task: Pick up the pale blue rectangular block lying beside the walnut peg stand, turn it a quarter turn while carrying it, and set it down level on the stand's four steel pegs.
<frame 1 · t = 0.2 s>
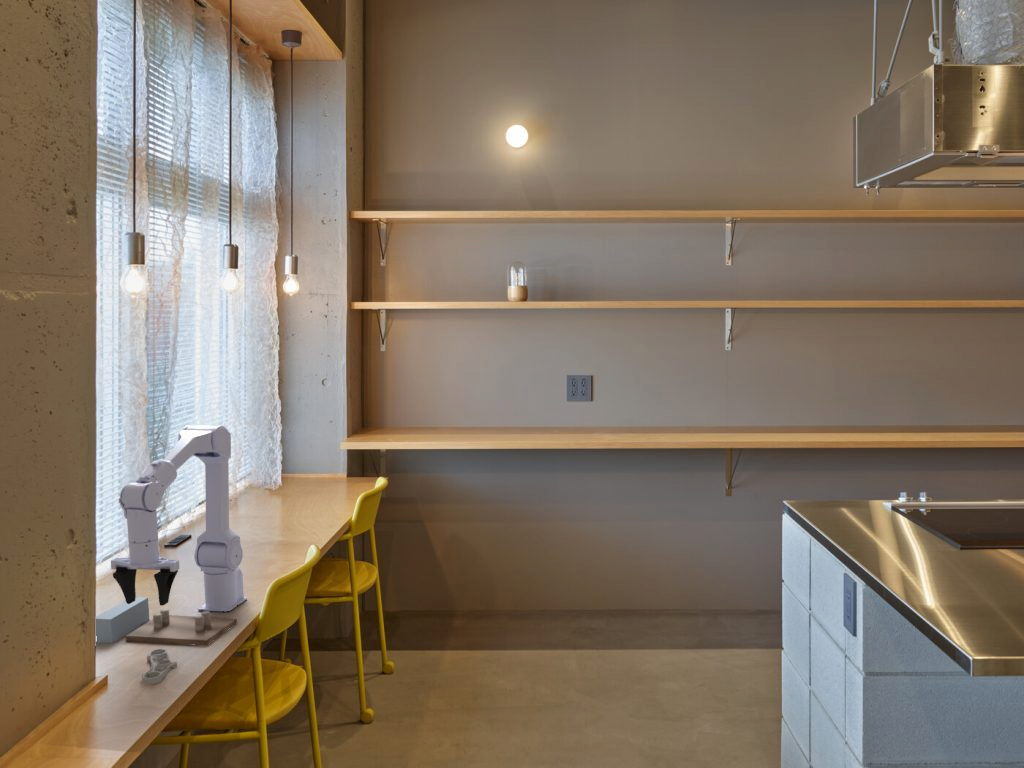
hand: (147, 603, 191), 10 cm above the table, tool pointing down, fingers open, 7 cm apart
bracket: (157, 672, 181), on the table
peg stand: (182, 632, 201), on the table
pale blue rectangular block: (122, 631, 203), on the table
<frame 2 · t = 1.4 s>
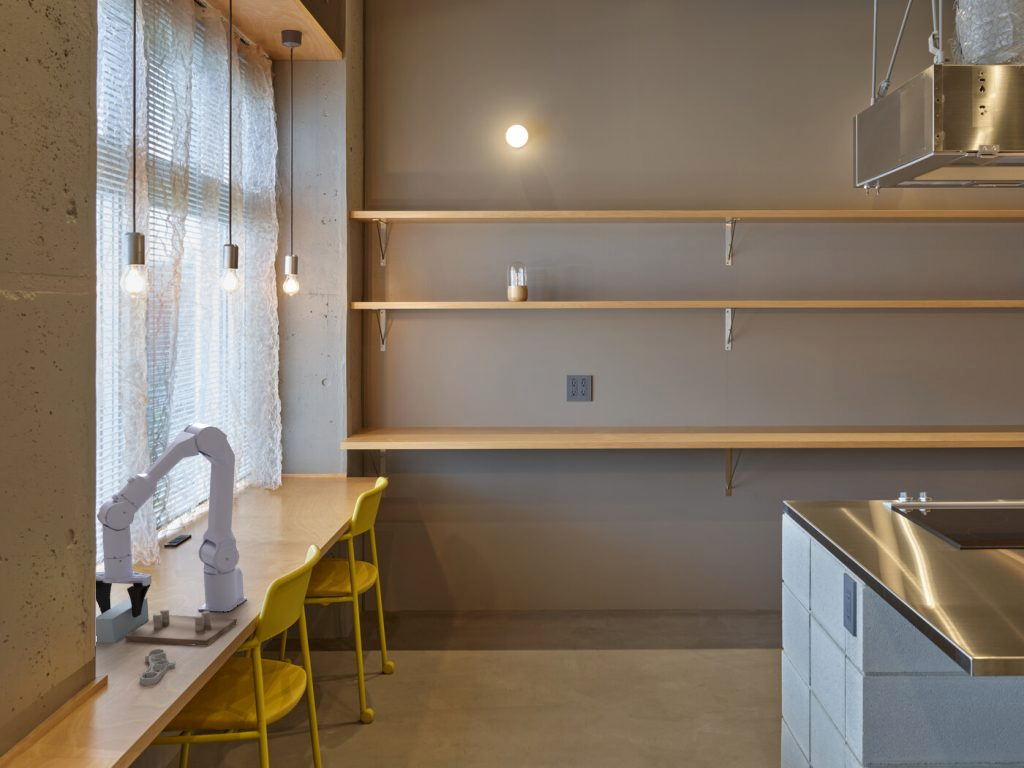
hand: (121, 615, 202), 4 cm above the table, tool pointing down, fingers open, 7 cm apart
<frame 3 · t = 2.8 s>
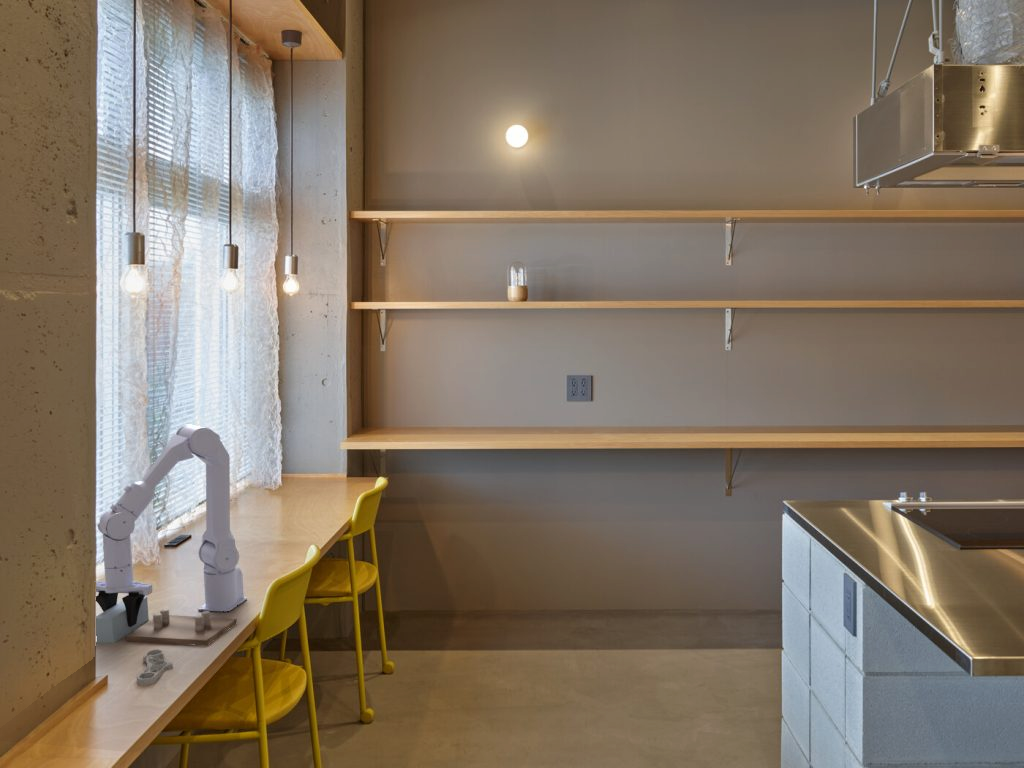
hand: (122, 624, 203), 1 cm above the table, tool pointing down, fingers closed on pale blue rectangular block, 4 cm apart
pale blue rectangular block: (122, 630, 203), on the table, touching gripper
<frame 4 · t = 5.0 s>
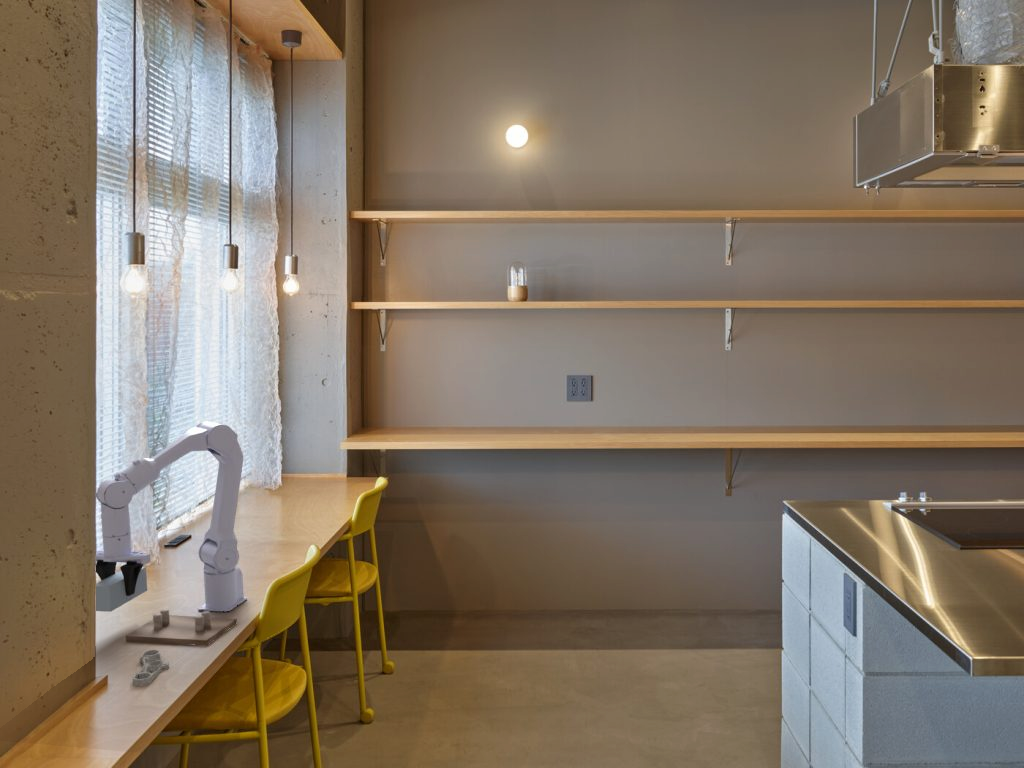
hand: (120, 594, 202), 8 cm above the table, tool pointing down, fingers closed on pale blue rectangular block, 4 cm apart
pale blue rectangular block: (121, 600, 202), point 7 cm above the table, touching gripper
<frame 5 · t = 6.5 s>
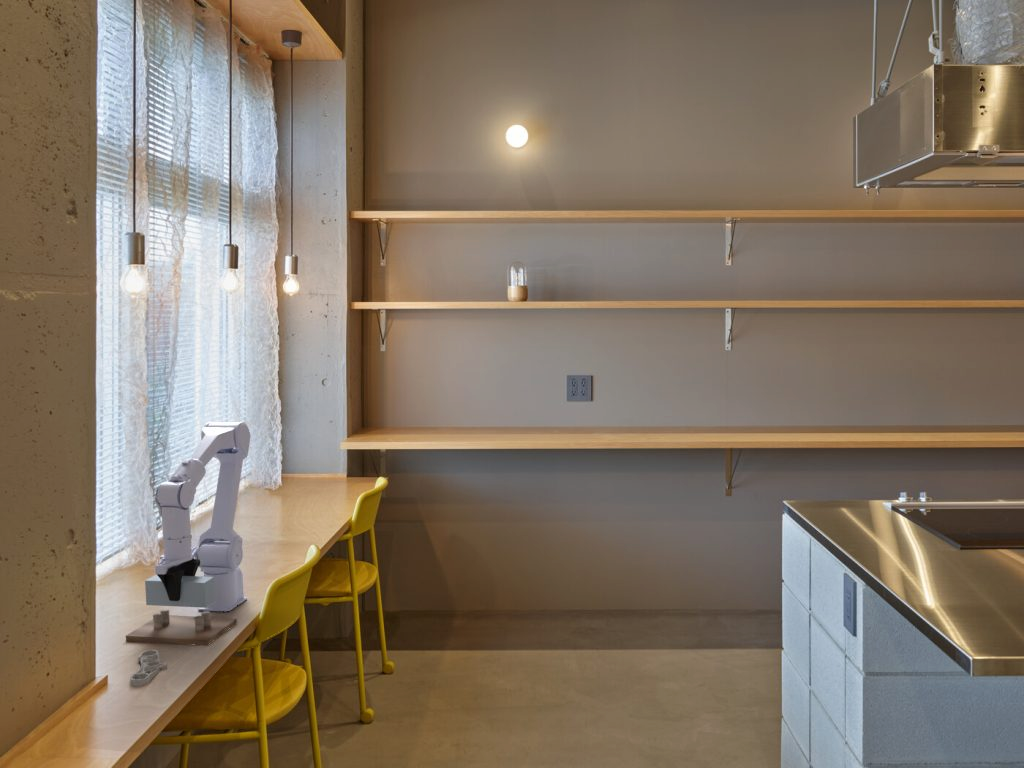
hand: (180, 596, 200), 8 cm above the table, tool pointing down, fingers closed on pale blue rectangular block, 4 cm apart
pale blue rectangular block: (180, 603, 200), point 7 cm above the table, touching gripper
when the fingers open (7 cm above the table, at t = 7.6 s): pale blue rectangular block stays where it is, resting on peg stand.
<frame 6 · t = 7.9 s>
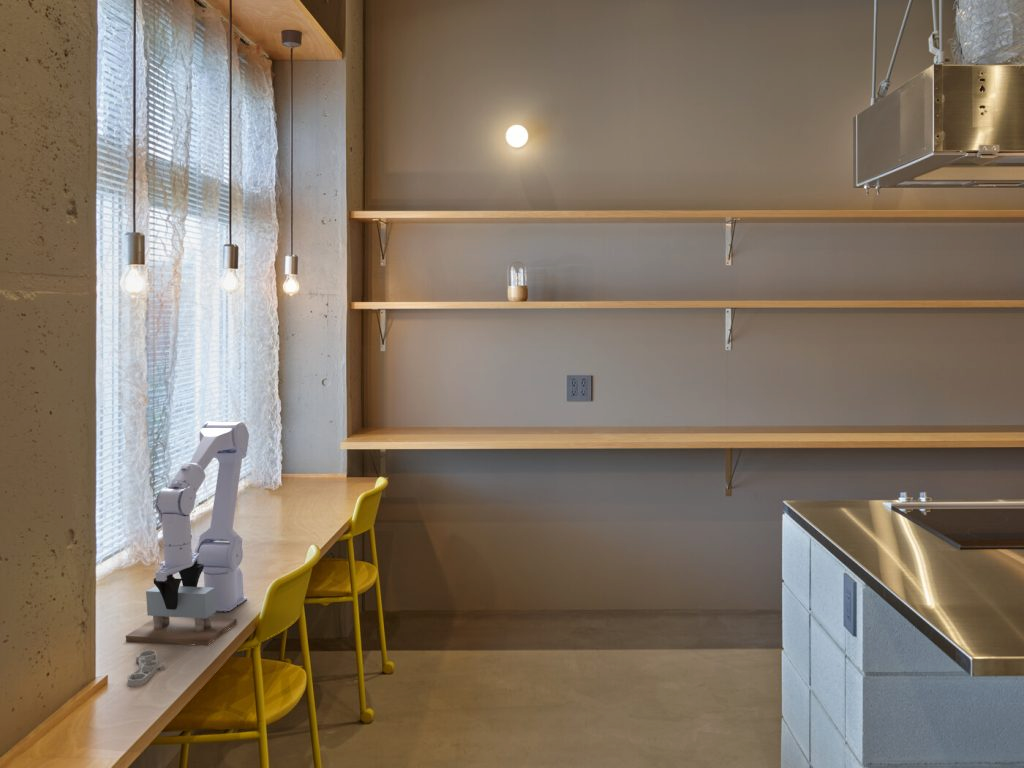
hand: (181, 603, 200), 7 cm above the table, tool pointing down, fingers open, 7 cm apart
pale blue rectangular block: (181, 613, 201), point 4 cm above the table, touching peg stand
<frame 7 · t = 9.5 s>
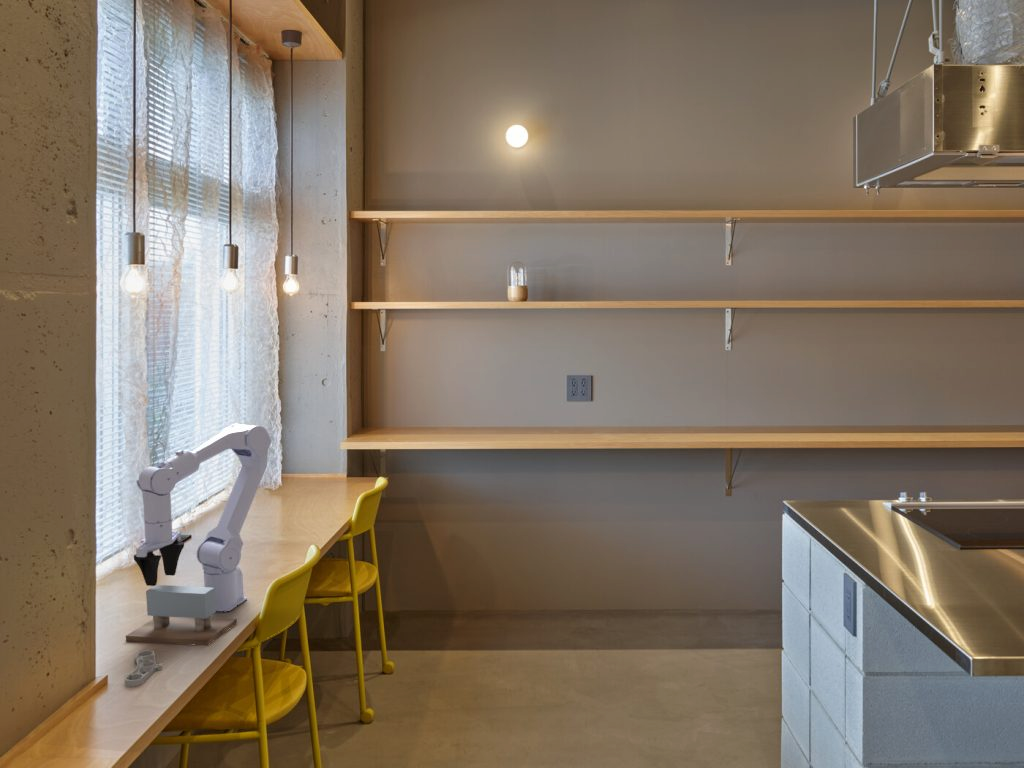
hand: (160, 580, 205), 10 cm above the table, tool pointing down, fingers open, 7 cm apart
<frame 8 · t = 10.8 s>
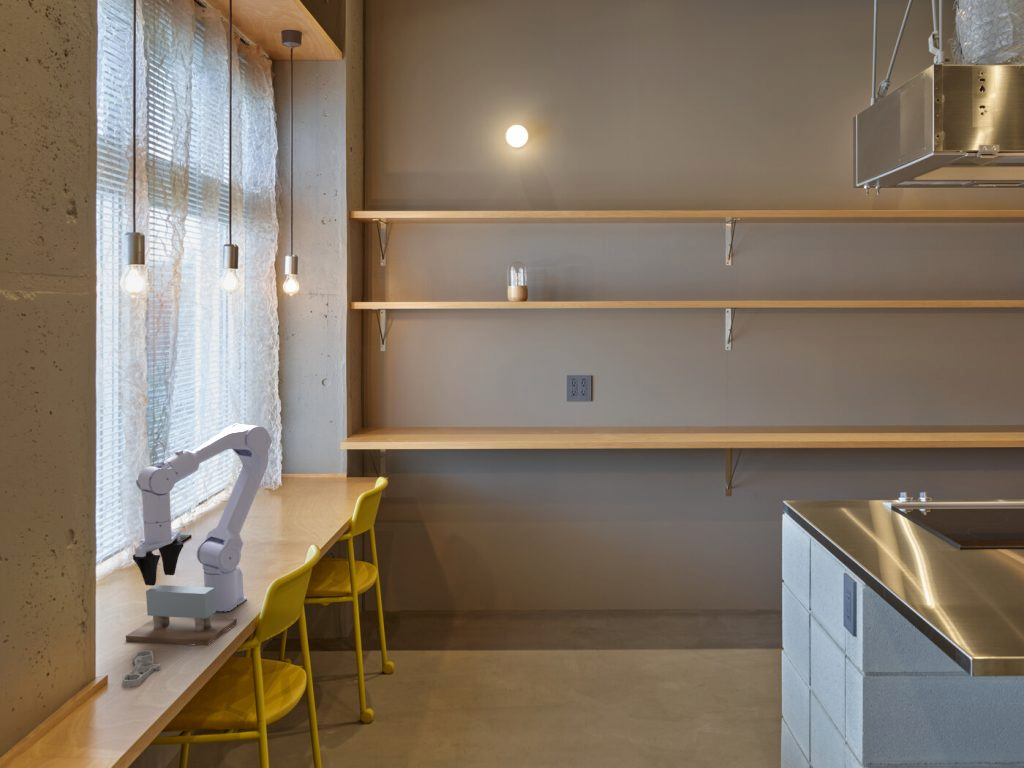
hand: (160, 579, 205), 10 cm above the table, tool pointing down, fingers open, 7 cm apart
at the end: pale blue rectangular block 0.1 cm off-centre on the peg stand, point 4.2 cm above the peg stand's base; pale blue rectangular block tilted 0°; the gripper is holding nothing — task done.
